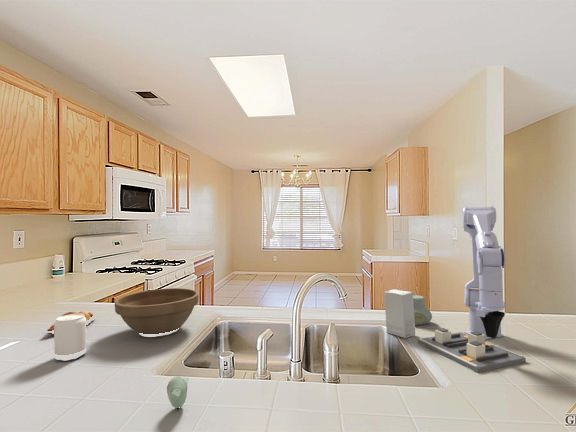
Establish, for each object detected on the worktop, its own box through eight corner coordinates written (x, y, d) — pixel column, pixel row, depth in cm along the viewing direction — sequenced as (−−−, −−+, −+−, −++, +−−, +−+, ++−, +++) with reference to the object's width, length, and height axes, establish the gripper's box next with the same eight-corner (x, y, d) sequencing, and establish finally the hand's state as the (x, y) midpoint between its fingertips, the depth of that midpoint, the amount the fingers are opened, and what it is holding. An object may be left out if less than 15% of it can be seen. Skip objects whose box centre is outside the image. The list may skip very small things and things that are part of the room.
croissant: (89, 328, 137) (81, 310, 138) (108, 317, 135) (100, 299, 136) (42, 346, 116) (33, 325, 117) (64, 334, 115) (55, 313, 116)
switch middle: (476, 343, 103) (476, 330, 103) (485, 346, 100) (484, 333, 100) (467, 344, 102) (467, 331, 102) (476, 348, 99) (476, 335, 99)
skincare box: (415, 335, 114) (415, 292, 114) (404, 339, 110) (403, 294, 111) (395, 328, 121) (395, 288, 121) (384, 332, 117) (383, 290, 118)
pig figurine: (181, 419, 68) (181, 386, 68) (161, 420, 67) (161, 386, 68) (191, 398, 76) (191, 368, 76) (173, 398, 75) (173, 369, 76)
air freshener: (401, 324, 126) (400, 298, 126) (402, 318, 134) (402, 293, 134) (432, 327, 122) (431, 300, 122) (432, 321, 129) (431, 295, 130)
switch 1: (443, 339, 106) (443, 327, 106) (451, 342, 103) (451, 330, 103) (435, 340, 105) (435, 328, 105) (442, 344, 102) (442, 331, 102)
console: (460, 335, 113) (460, 329, 113) (525, 361, 92) (525, 354, 92) (417, 342, 107) (417, 336, 107) (476, 372, 86) (476, 364, 86)
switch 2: (476, 353, 95) (475, 340, 95) (485, 357, 92) (485, 343, 92) (466, 355, 94) (466, 341, 94) (475, 359, 91) (475, 345, 91)
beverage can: (92, 354, 101) (92, 314, 102) (65, 364, 94) (65, 322, 94) (75, 349, 105) (75, 312, 105) (48, 359, 98) (48, 319, 98)
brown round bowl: (95, 341, 112) (95, 302, 113) (153, 317, 139) (153, 285, 140) (164, 350, 104) (164, 308, 104) (213, 322, 131) (212, 289, 131)
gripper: (486, 284, 102) (487, 327, 102) (464, 291, 94) (465, 338, 94) (512, 287, 97) (513, 334, 97) (491, 295, 88) (492, 346, 88)
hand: (491, 337), depth 95 cm, fingers closed
